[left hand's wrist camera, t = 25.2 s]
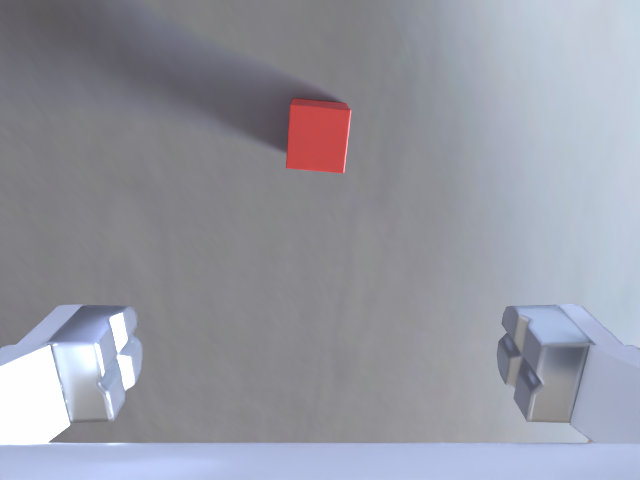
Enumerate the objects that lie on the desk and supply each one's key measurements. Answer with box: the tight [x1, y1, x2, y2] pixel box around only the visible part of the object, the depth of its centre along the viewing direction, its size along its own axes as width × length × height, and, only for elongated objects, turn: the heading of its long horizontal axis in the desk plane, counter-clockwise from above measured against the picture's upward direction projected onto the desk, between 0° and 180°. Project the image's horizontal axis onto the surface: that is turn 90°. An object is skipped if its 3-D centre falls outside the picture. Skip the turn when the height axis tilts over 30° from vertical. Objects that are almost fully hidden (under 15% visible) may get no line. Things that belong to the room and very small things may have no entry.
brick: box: [286, 98, 351, 173], centre depth 34 cm, size 4×4×5 cm
